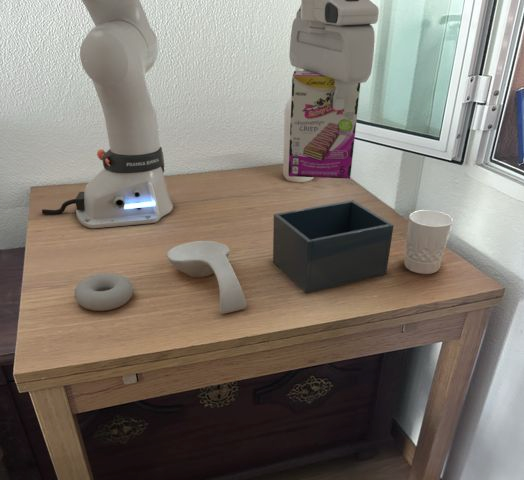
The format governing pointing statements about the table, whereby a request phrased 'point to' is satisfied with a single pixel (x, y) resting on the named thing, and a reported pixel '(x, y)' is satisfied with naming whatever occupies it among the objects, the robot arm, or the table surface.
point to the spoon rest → (210, 269)
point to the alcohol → (287, 144)
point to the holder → (331, 245)
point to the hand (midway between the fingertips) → (324, 104)
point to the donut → (103, 291)
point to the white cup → (426, 240)
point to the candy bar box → (321, 128)
